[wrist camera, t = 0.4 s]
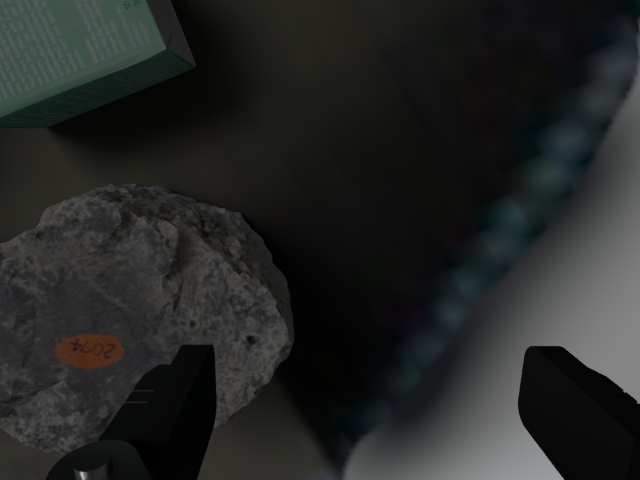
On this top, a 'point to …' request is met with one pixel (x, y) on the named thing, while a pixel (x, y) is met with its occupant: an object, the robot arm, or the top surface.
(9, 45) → the box
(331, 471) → the top surface
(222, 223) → the petrified wood
